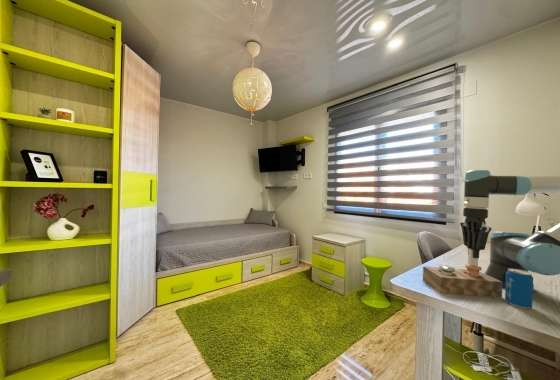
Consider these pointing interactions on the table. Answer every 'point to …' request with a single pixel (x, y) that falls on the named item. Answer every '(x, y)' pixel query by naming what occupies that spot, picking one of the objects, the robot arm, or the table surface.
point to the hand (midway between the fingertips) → (472, 265)
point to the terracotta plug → (473, 270)
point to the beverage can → (519, 288)
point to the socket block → (462, 283)
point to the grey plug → (447, 270)
